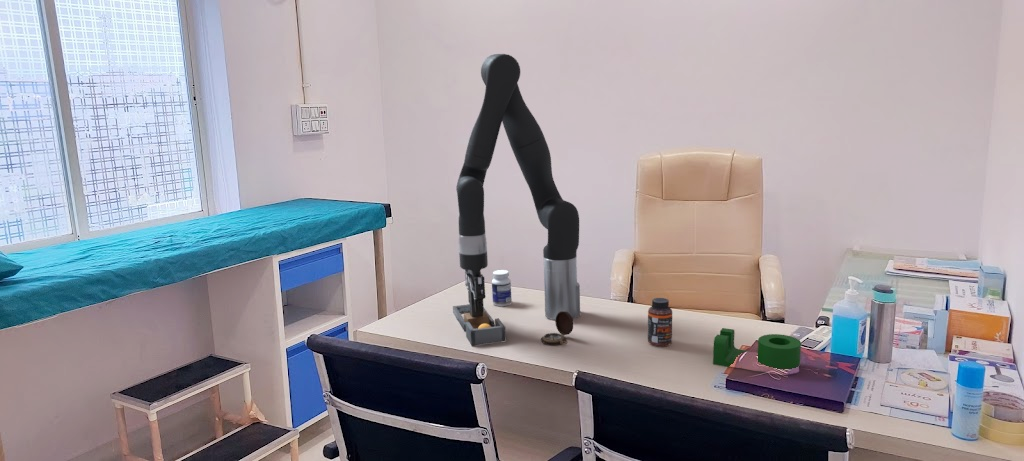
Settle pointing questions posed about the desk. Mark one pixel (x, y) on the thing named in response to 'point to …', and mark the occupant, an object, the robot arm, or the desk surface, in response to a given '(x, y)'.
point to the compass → (559, 329)
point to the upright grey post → (474, 317)
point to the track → (466, 308)
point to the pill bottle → (501, 288)
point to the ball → (484, 326)
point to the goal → (486, 334)
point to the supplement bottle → (660, 323)
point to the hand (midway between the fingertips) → (476, 307)
